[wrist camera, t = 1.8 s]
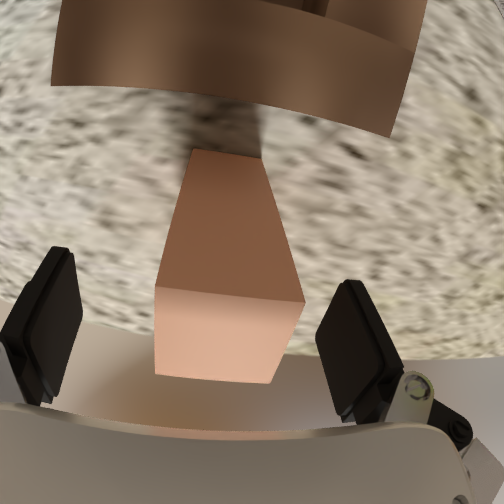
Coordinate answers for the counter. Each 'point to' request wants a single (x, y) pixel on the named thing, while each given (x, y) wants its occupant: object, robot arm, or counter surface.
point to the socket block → (249, 52)
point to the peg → (225, 276)
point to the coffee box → (500, 6)
